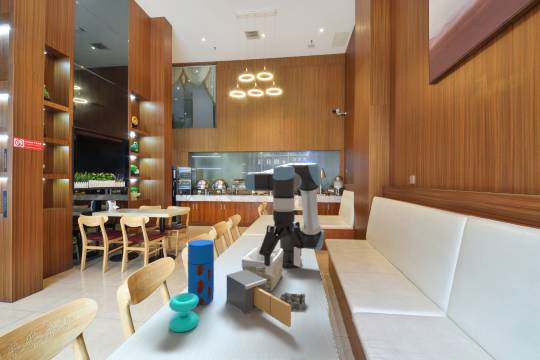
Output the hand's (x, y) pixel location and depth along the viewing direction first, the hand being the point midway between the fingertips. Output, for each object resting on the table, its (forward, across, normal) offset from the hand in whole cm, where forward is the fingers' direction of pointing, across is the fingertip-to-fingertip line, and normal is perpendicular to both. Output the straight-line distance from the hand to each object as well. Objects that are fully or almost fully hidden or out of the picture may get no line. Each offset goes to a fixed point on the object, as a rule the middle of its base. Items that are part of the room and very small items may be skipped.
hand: (283, 270), depth 89 cm
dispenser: (+21, 0, -23) cm, 31 cm away
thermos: (+21, +13, -38) cm, 46 cm away
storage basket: (+21, -20, -36) cm, 46 cm away
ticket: (+19, 0, -8) cm, 20 cm away
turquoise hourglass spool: (+21, +26, -24) cm, 41 cm away
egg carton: (+21, -14, -10) cm, 28 cm away
